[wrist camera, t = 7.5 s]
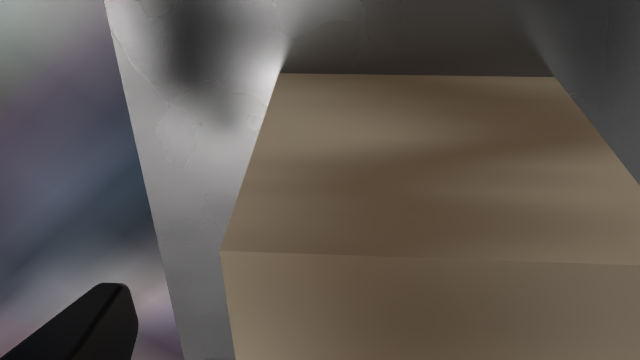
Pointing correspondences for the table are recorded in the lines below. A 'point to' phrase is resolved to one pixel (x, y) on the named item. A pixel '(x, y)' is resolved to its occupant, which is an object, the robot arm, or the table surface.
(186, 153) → the press bed
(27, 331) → the table surface
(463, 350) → the block
